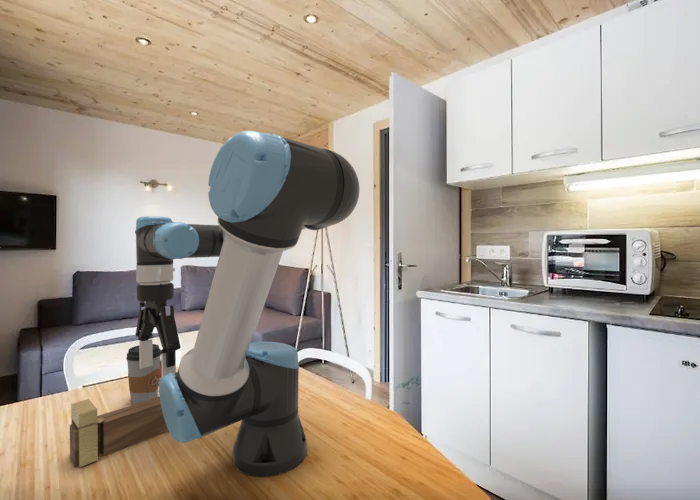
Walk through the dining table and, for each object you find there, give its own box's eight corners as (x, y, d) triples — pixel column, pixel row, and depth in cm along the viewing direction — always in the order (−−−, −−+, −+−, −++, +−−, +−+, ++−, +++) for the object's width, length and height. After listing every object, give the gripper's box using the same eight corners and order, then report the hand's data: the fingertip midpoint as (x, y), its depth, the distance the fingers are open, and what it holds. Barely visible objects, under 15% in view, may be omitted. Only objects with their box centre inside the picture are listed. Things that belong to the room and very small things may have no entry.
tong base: (184, 424, 84) (184, 394, 84) (74, 467, 68) (74, 430, 68) (176, 418, 87) (176, 389, 87) (70, 458, 71) (69, 422, 71)
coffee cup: (145, 409, 91) (145, 353, 91) (119, 406, 93) (118, 351, 93) (168, 396, 100) (167, 344, 99) (143, 393, 101) (142, 342, 101)
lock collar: (97, 460, 70) (97, 409, 70) (79, 467, 68) (78, 414, 67) (89, 447, 74) (88, 399, 74) (71, 453, 72) (71, 403, 72)
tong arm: (183, 424, 84) (183, 396, 84) (103, 455, 72) (103, 422, 72) (180, 421, 86) (180, 393, 85) (101, 452, 73) (100, 419, 73)
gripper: (196, 285, 75) (197, 381, 76) (152, 278, 92) (153, 358, 92) (159, 288, 70) (160, 392, 70) (120, 281, 86) (121, 365, 86)
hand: (157, 373), depth 81 cm, fingers open, 13 cm apart
